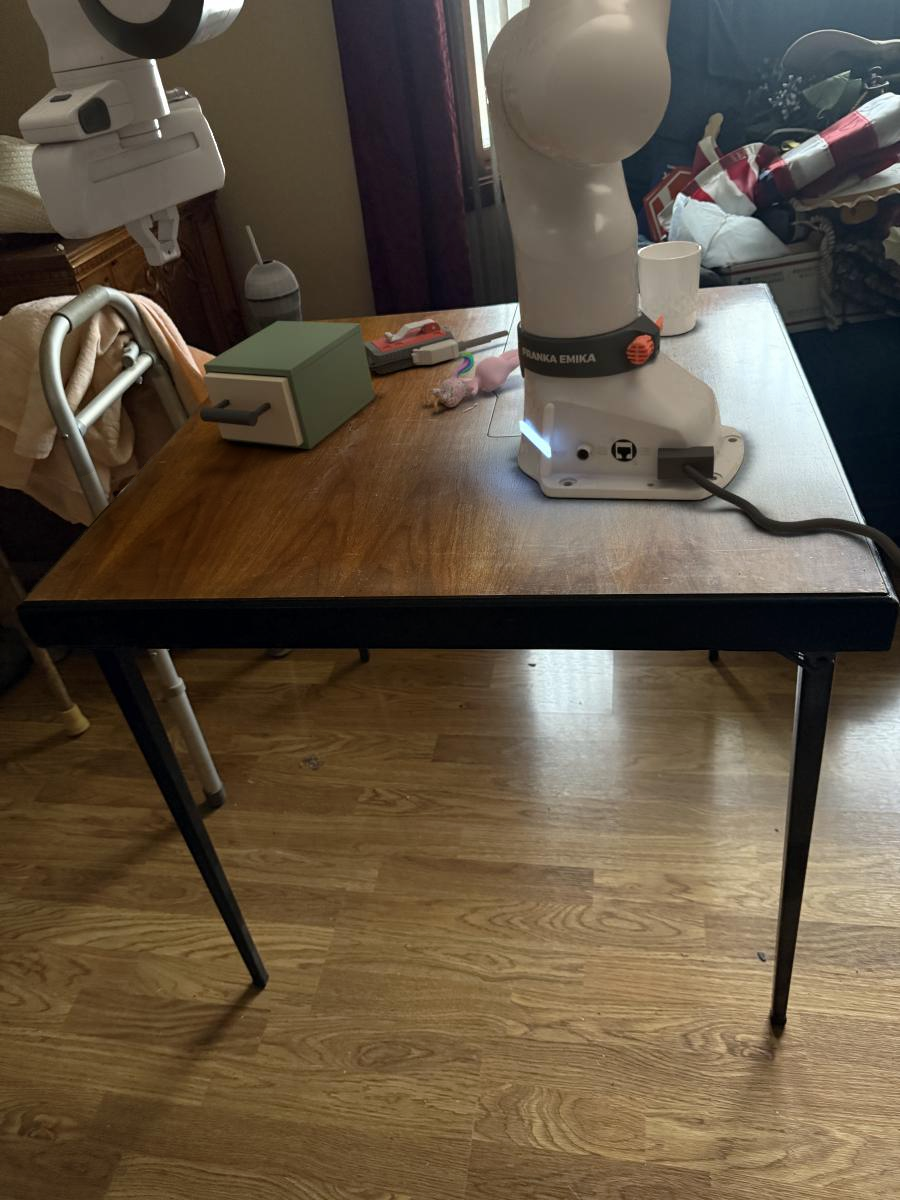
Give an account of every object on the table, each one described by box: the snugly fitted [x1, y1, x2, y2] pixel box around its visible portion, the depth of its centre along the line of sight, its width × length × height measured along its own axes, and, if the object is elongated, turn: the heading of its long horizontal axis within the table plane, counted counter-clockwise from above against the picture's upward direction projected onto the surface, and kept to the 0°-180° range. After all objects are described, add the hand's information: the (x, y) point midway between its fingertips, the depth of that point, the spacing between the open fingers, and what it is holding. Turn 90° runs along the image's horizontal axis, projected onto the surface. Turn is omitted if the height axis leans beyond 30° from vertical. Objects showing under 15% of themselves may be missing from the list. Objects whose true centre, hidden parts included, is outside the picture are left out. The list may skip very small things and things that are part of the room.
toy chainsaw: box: [364, 318, 510, 375], centre depth 120 cm, size 9×4×20 cm
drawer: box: [199, 372, 304, 446], centre depth 103 cm, size 18×11×8 cm, turn 153°
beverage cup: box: [244, 225, 303, 332], centre depth 116 cm, size 7×7×20 cm
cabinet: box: [203, 321, 376, 450], centre depth 106 cm, size 15×13×10 cm
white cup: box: [638, 240, 703, 337], centre depth 114 cm, size 8×8×10 cm
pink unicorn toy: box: [423, 348, 520, 413], centre depth 106 cm, size 6×6×15 cm
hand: (165, 261), depth 86 cm, fingers closed
